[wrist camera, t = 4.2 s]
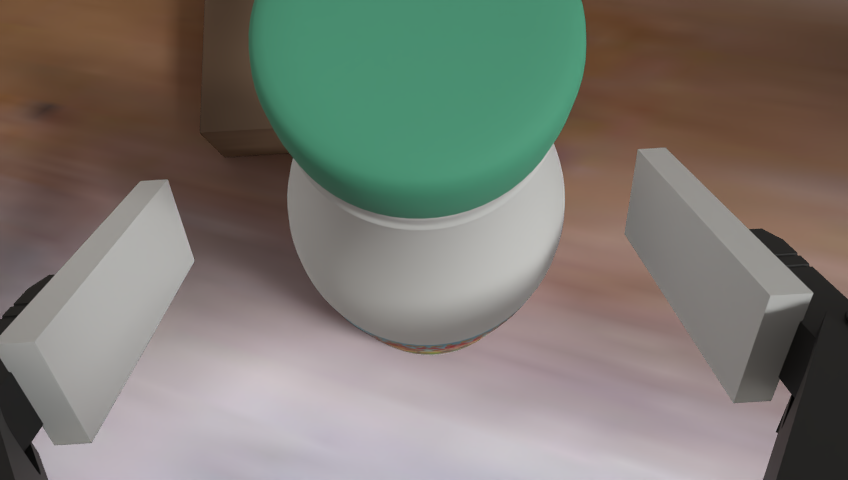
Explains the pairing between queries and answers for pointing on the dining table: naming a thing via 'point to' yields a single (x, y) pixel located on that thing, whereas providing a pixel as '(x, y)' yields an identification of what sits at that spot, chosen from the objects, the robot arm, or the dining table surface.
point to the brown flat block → (232, 85)
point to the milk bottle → (421, 153)
